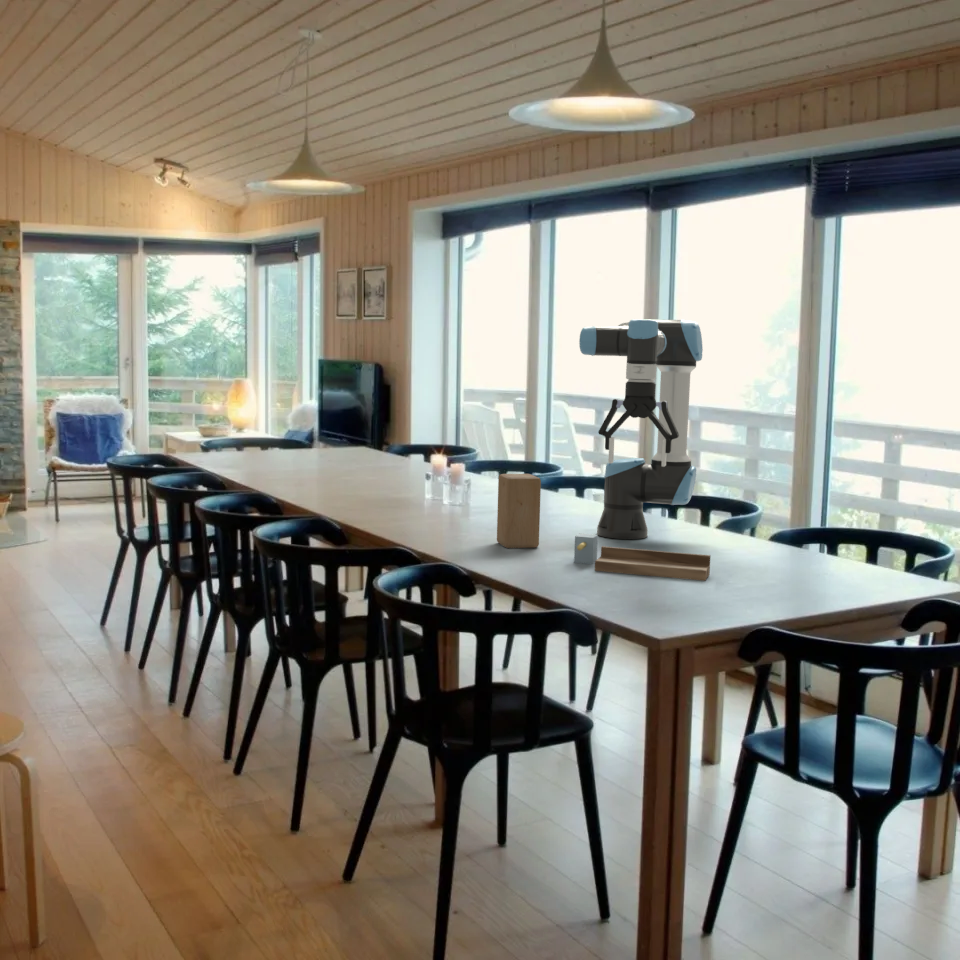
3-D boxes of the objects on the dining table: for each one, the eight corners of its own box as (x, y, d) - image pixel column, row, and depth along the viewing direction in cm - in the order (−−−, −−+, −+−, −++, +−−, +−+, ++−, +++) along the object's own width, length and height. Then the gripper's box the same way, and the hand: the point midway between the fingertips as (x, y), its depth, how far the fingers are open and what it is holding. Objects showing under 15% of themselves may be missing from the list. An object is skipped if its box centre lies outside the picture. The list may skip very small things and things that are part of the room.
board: (601, 564, 299) (602, 546, 299) (709, 574, 291) (710, 555, 290) (594, 570, 292) (595, 551, 291) (705, 580, 283) (706, 560, 282)
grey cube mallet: (578, 559, 307) (579, 533, 306) (596, 560, 305) (597, 534, 304) (569, 565, 297) (570, 539, 296) (588, 567, 296) (589, 540, 295)
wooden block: (505, 549, 318) (507, 478, 315) (495, 542, 327) (497, 473, 325) (539, 548, 321) (542, 477, 318) (528, 541, 330) (531, 473, 328)
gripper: (589, 379, 289) (585, 462, 291) (688, 383, 281) (684, 468, 284) (595, 378, 296) (592, 460, 299) (692, 382, 288) (688, 465, 291)
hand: (637, 464), depth 291 cm, fingers open, 13 cm apart
